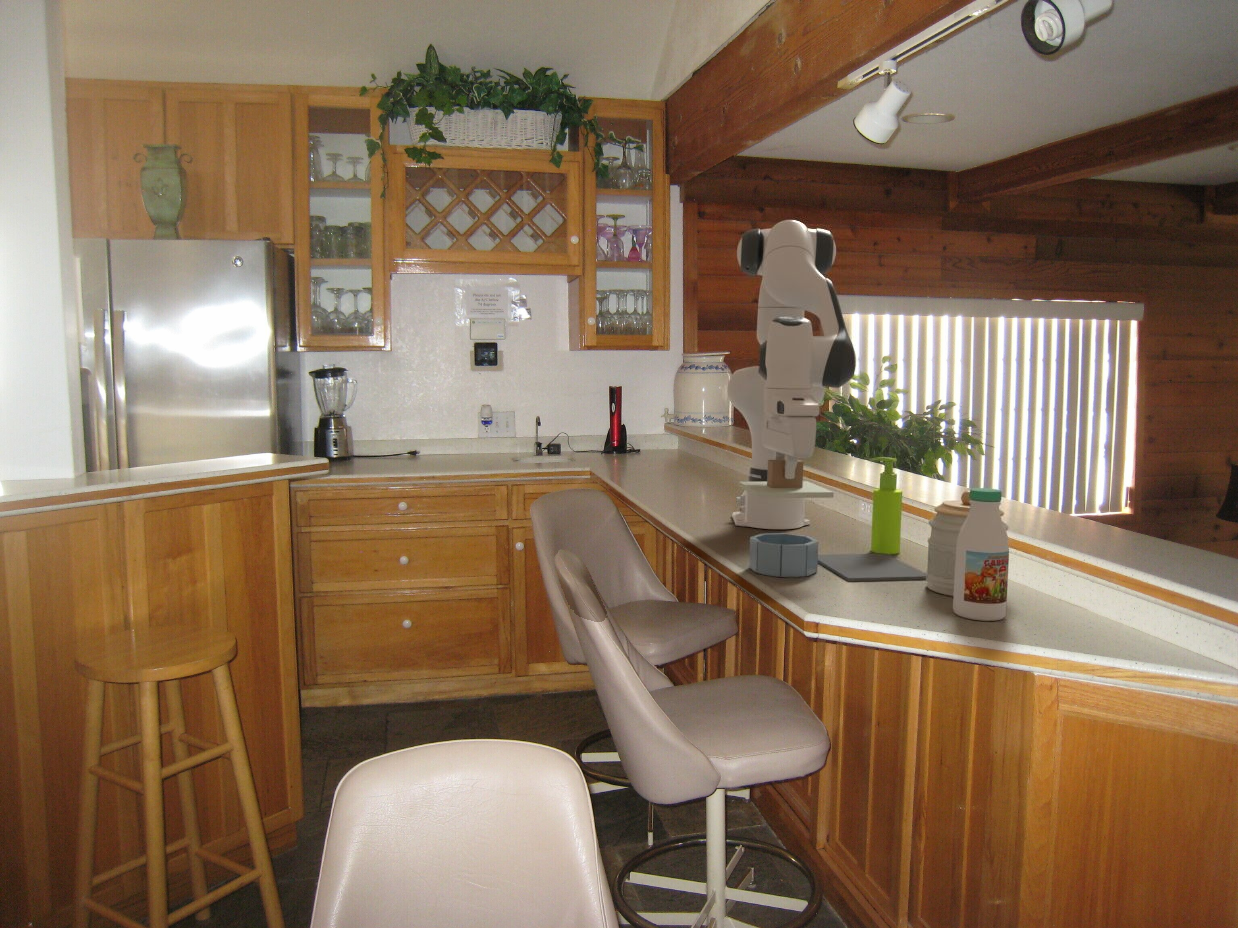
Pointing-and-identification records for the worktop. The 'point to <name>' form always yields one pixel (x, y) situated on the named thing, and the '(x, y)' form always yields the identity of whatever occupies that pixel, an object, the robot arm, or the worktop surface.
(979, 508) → the milk bottle
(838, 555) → the mat
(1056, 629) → the worktop surface
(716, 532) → the worktop surface
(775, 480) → the cover
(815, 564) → the bowl
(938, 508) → the jar
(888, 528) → the soap dispenser
